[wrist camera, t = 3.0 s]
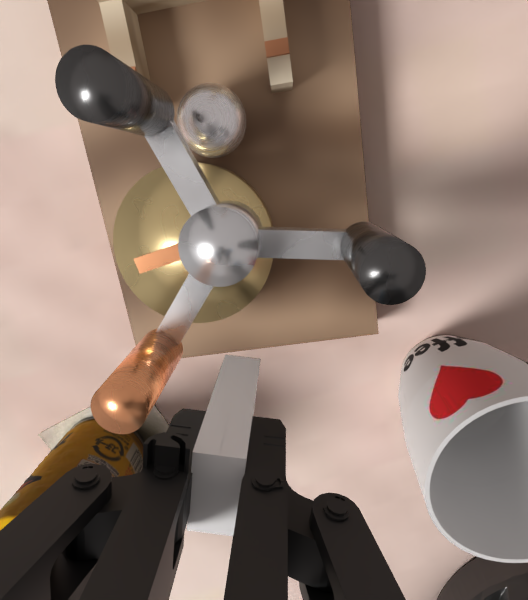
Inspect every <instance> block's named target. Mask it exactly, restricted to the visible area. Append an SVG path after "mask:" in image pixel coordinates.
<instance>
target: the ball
mask: <svg viewBox="0 0 528 600" xmlns="http://www.w3.org/2000/svg"><path fill="white" fill-rule="evenodd" d="M246 123H247V120H246V113H245V109H244V107H243V104H242V102H241V101H240V99H239V98H238V96H237V95H236V94H235V93H234V92H233V91H232V90H230V89H229V88H227V87H226V86H224V85H221V84H218V83H203V84H199V85H197V86H195V87H193V88H191V89H190V90H189V91H188V92H187V93H186V94H185V95H184V96H183V98H182V100H181V101H180V104H179V106H178V110H177V127H178V128H179V130H180V132H181V134H182V136H183V137H184V139H185V141H186V143H187V144H188V146H189V148H190V149H191V150H192V151H194V152H195V153H197V154H199V155H201V156H204V157H208V158H218V157H222V156H225V155H228V154H229V153H231V152H232V151H234V150H235V149H236V148H237V147H238V146H239V144H240V143H241V141H242V139H243V137H244V135H245V131H246Z"/></svg>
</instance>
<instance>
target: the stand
mask: <svg viewBox="0 0 528 600" xmlns="http://www.w3.org/2000/svg"><path fill="white" fill-rule="evenodd" d="M47 1H48V5H49V9H50V12H51V16H52V20H53V24H54V28H55V32H56V36H57V40H58V44H59V48H60V51H61V55H62V57H63V55H64V54H65V53H66V52H67V51H69V50H70V49H72V48H74V47H76V46H79V45H94V46H98V47H100V48H102V49H104V50H105V51H107V52H108V53H110V54H111V55H113V56H114V57H116V58H117V59H119V60H120V61H122V62H123V63H125V64H126V65H128V66H129V67H131V68H132V69H134V70H135V71H137V72H138V73H140V74H141V75H143V76H144V77H146V78H147V79H149V80H150V81H152V82H153V83H154V84H156V85H157V86H159V87H160V88H162V89H163V90H164V91H165V92H166V93H167V94H168V95H169V96H170V98H171V100H172V102H173V105H174V121H175V123H176V125H177V110H178V106H179V104H180V101H181V100H182V98H183V96H184V95H185V94H186V93H187V92H188V91H189V90H190V89H191V88H193V87H195V86H197V85H199V84H203V83H218V84H221V85H224V86H226V87H227V88H229V89H230V90H232V91H233V92H234V93H235V94H236V95H237V96H238V98H239V99H240V101H241V102H242V104H243V107H244V109H245V113H246V120H247V123H246V131H245V135H244V137H243V139H242V141H241V143H240V144H239V146H238V147H237V148H236V149H235V150H234V151H232V152H231V153H229V154H228V155H225V156H222V157H218V158H208V157H204V156H201V155H199V154H197V153H195V152H194V151H192V150H191V149H190V150H191V152H192V153H193V155H194V157H195V159H196V160H197V162H198V163H206V164H213V165H216V166H220V167H223V168H225V169H227V170H230V171H232V172H234V173H235V174H237V175H239V176H240V177H242V178H243V179H244V180H245V181H247V182H248V183H249V184H250V185H251V186H252V187H253V188H254V189H255V190H256V191H257V193H258V194H259V196H260V197H261V198H262V200H263V202H264V203H265V205H266V207H267V209H268V211H269V214H270V216H271V220H272V224H273V227H290V228H327V229H347V228H348V227H349V226H351V225H352V224H354V223H357V222H369V217H368V206H367V194H366V182H365V171H364V159H363V147H362V136H361V124H360V112H359V101H358V89H357V77H356V65H355V54H354V42H353V30H352V19H351V7H350V0H47ZM78 122H79V126H80V129H81V133H82V137H83V141H84V145H85V149H86V153H87V157H88V161H89V164H90V168H91V172H92V176H93V180H94V184H95V188H96V192H97V196H98V200H99V203H100V207H101V211H102V215H103V219H104V223H105V227H106V231H107V235H108V239H109V242H110V246H111V250H112V254H113V258H114V262H115V266H116V270H117V274H118V278H119V281H120V285H121V289H122V293H123V297H124V301H125V305H126V309H127V313H128V316H129V320H130V324H131V328H132V332H133V336H134V340H135V344H136V345H137V344H138V343H139V342H140V341H141V340H142V339H143V337H144V336H145V335H146V334H147V333H148V332H150V331H151V330H154V329H158V327H159V326H160V324H161V322H162V320H163V319H164V317H165V316H163V315H161V314H159V313H158V312H156V311H154V310H152V309H151V308H150V307H148V306H147V305H145V304H144V303H143V302H142V301H141V300H140V299H139V298H138V297H137V296H136V295H135V294H134V293H133V292H132V290H131V289H130V288H129V286H128V285H127V283H126V282H125V280H124V278H123V276H122V274H121V272H120V270H119V267H118V265H117V262H116V258H115V253H114V246H113V230H114V223H115V219H116V215H117V212H118V209H119V207H120V205H121V203H122V201H123V199H124V197H125V196H126V194H127V193H128V191H129V190H130V189H131V188H132V187H133V186H134V184H135V183H137V182H138V181H139V180H140V179H141V178H142V177H144V176H145V175H147V174H148V173H150V172H151V171H153V170H156V169H158V168H160V167H162V165H161V164H160V162H159V160H158V159H157V157H156V155H155V153H154V152H153V150H152V148H151V147H150V145H149V143H148V141H147V140H146V138H145V136H141V135H137V134H133V133H129V132H125V131H121V130H117V129H113V128H109V127H106V126H102V125H98V124H94V123H90V122H86V121H83V120H80V119H78ZM372 334H378V323H377V311H376V301H374V300H373V299H371V298H370V297H369V296H368V295H367V294H366V293H365V291H364V290H363V288H362V287H361V285H360V284H359V282H358V281H357V279H356V278H355V276H354V275H353V273H352V271H351V270H350V268H349V267H348V265H347V264H346V262H345V261H344V260H319V259H286V258H273V261H272V265H271V269H270V273H269V275H268V278H267V280H266V282H265V284H264V286H263V287H262V289H261V291H260V292H259V293H258V295H257V296H256V297H255V298H254V299H253V300H252V301H251V302H250V303H249V304H248V305H247V306H246V307H244V308H243V309H242V310H240V311H239V312H237V313H235V314H233V315H232V316H230V317H227V318H224V319H222V320H218V321H214V322H208V323H192V324H191V326H190V327H189V329H188V331H187V333H186V334H185V336H184V338H183V339H182V341H181V342H182V345H183V354H182V357H181V358H186V357H194V356H202V355H210V354H219V353H227V352H235V351H243V350H251V349H259V348H267V347H275V346H283V345H291V344H299V343H308V342H316V341H324V340H332V339H340V338H348V337H356V336H364V335H372Z"/></svg>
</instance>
